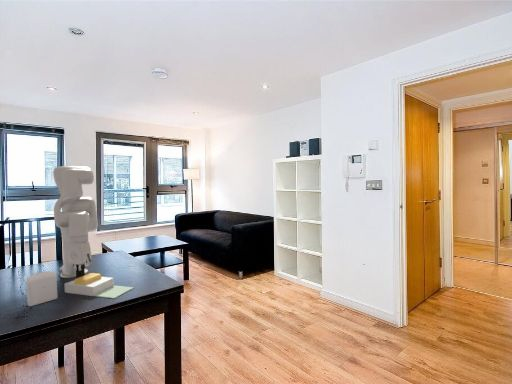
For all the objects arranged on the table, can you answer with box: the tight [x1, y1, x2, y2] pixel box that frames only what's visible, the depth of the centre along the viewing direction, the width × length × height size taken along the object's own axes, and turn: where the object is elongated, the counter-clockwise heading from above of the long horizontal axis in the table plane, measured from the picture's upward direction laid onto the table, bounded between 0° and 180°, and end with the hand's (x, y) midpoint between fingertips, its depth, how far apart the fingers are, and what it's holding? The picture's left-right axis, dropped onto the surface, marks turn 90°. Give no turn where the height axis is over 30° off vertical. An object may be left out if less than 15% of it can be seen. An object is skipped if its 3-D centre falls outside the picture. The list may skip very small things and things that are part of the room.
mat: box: [93, 284, 134, 300], centre depth 129 cm, size 11×12×1 cm
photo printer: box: [26, 270, 59, 307], centre depth 119 cm, size 10×4×12 cm, turn 140°
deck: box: [64, 276, 115, 297], centre depth 133 cm, size 16×12×4 cm
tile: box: [74, 272, 102, 285], centre depth 132 cm, size 6×9×2 cm, turn 164°
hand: (80, 278), depth 134 cm, fingers closed
